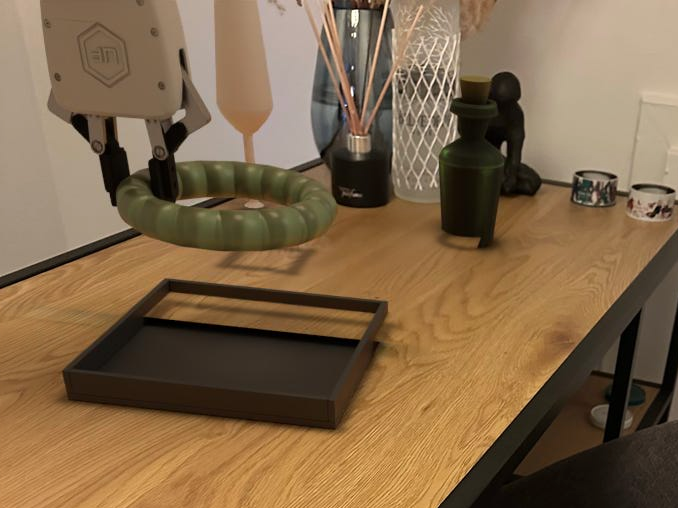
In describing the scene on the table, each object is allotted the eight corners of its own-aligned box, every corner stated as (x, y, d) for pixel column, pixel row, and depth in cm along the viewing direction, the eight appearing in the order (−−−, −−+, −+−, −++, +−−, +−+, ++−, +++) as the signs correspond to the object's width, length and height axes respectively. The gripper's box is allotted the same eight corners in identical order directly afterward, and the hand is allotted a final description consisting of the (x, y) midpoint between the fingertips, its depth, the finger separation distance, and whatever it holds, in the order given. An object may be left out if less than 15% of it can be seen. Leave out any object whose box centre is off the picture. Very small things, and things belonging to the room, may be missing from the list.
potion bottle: (503, 235, 122) (515, 76, 111) (493, 254, 116) (504, 88, 104) (442, 227, 123) (448, 69, 111) (429, 246, 117) (433, 80, 105)
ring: (84, 240, 73) (77, 199, 72) (161, 183, 87) (157, 148, 85) (311, 267, 73) (310, 227, 72) (352, 206, 87) (353, 171, 85)
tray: (68, 399, 80) (61, 370, 78) (168, 302, 97) (164, 277, 96) (335, 429, 79) (334, 400, 77) (388, 326, 96) (388, 300, 95)
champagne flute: (286, 211, 124) (272, -7, 109) (273, 226, 119) (256, -1, 104) (237, 207, 124) (215, -12, 109) (221, 222, 119) (196, -6, 104)
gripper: (-35, -68, 66) (31, 208, 78) (192, -51, 65) (224, 226, 77) (17, -73, 72) (71, 185, 84) (226, -57, 71) (251, 201, 83)
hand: (144, 202), depth 80 cm, fingers closed on ring, 3 cm apart
